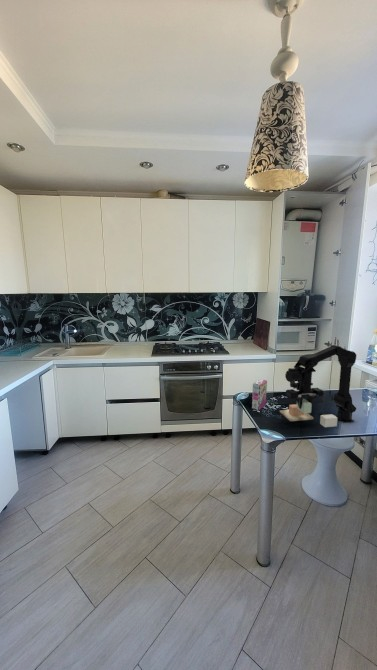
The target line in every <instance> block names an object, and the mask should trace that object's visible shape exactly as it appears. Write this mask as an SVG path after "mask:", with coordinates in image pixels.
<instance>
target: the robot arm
mask: <svg viewBox="0 0 377 670" xmlns="http://www.w3.org/2000/svg"><path fill="white" fill-rule="evenodd" d="M335 355H336V357H337V361H338V363H339V365H340V370H339V371H340V372H339V384H338V391H337V392H336V393H334V394H333V402H334V403H335V407H336V408H338V409H337V415H335V416H336V417H337V420H339V421H341V422H342V423H353V422H355V420H354V419H352V418H353V414H354V413H355V412H356V411H357V407H356V406H355V405H354V404H353V398H352V395H351V393H350V386H351V375H352V367H353V366H354V365H355V363H356V361H357V353H356V352H355V351H354V350H353V351H352V350H348V349H346V348H343V347H341V346H340V345H336V344H333V345H330V346H329V347H326V348H325V349H322V350H319V351H317V352H315V353H309V354H304V355H301V356H299V359H298V360H297V362H296V363H295V365H294V366H293V368H292V367H290V368H287V369H288V370H286V372H285V379H286V381H287V382H289V386H290V388H291V389H286V390H285V396H286V397H289V398H290V399H295V400H296V404H297V403H298V406H299V408H300V409H301V407H302V401H303V399H304V398H303V397H302V396H304V395H305V396H306V400H307V401H308V402H310V403H311V404H312V405H313V402H314V401H315V400H316V399H318V397H319V398H320V397H324V396H325V392H324V390H323V389H321V388H319V387H312V386H313V385H314V383H313V382H312V379H313V377H312V376H313V373H315V372H316V371H317V370H316V369H315V368H314V367H316V366H317V365H318V364H319V363H320V362H322V361H324V360H326V359H328V358H331V357H333V356H335ZM316 395H317V396H316Z"/></svg>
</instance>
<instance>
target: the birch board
mask: <svg viewBox="0 0 377 670" xmlns="http://www.w3.org/2000/svg"><path fill="white" fill-rule="evenodd" d="M279 413H280V414H281V415H282V416H284V417H285V418H286V419H287V420H288V421H289V422H298V421H310V420H314V417H313V416H312V415H310V413H304V415H299V416H292V415H291V414H289V409H282V410H280V409H279Z"/></svg>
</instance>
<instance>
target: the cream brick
mask: <svg viewBox="0 0 377 670" xmlns="http://www.w3.org/2000/svg"><path fill="white" fill-rule="evenodd" d="M336 416H337V415H334V414H332V413H331V414H322V415H321V414H320V418H319V425H321V426H322V427H324V428H332V427H338V418H337V417H336Z"/></svg>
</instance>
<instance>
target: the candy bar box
mask: <svg viewBox="0 0 377 670" xmlns="http://www.w3.org/2000/svg"><path fill="white" fill-rule="evenodd" d="M267 391H268V380H265V379H258V380H257V381H255V382H253V383H252V395H251V396H252V399H251V409H252V410H255V411H260V410H262V408H264V407H265V406H266V405H267V394H268V393H267Z"/></svg>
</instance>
